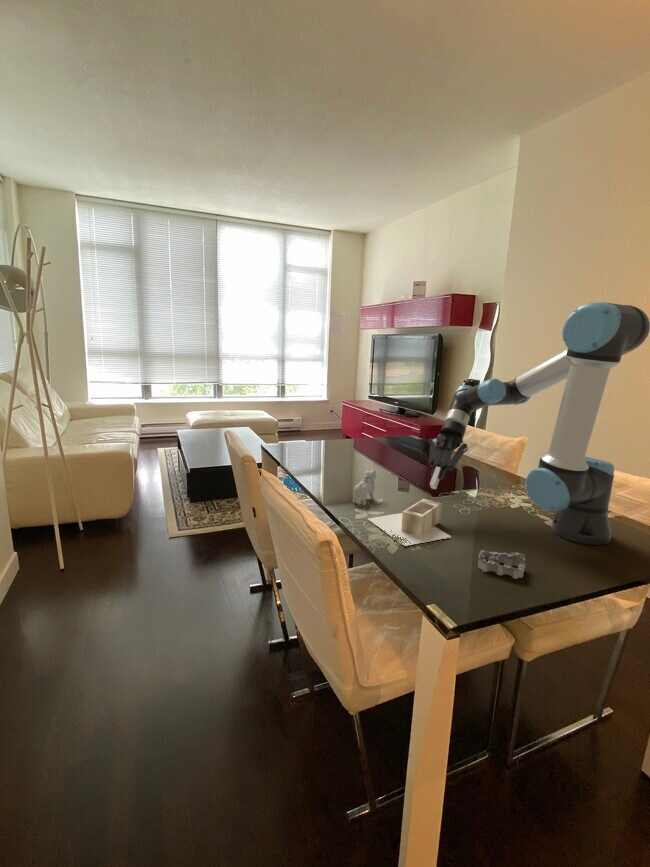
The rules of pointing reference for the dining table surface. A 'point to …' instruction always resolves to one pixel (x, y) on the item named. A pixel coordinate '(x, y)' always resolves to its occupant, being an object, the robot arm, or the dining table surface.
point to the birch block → (421, 517)
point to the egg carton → (505, 558)
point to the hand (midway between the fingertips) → (432, 486)
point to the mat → (395, 525)
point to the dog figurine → (365, 486)
